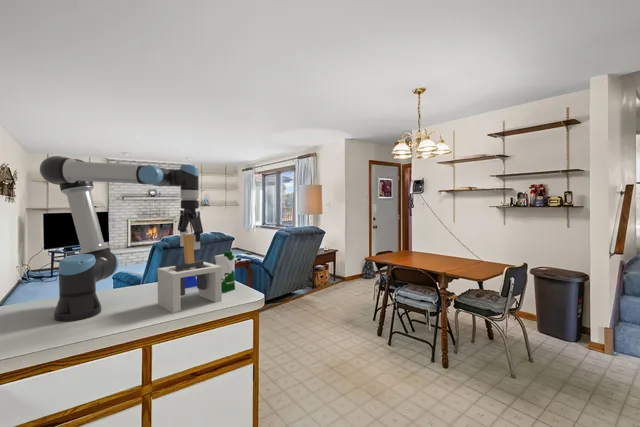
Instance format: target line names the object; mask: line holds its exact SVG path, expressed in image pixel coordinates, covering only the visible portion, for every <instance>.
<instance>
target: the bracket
mask: <svg viewBox="0 0 640 427" xmlns="http://www.w3.org/2000/svg"><path fill="white" fill-rule="evenodd" d="M184 282H185V289H190V288H195V287H196V288H197V276H196V275H194V276H188V277H184Z"/></svg>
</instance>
